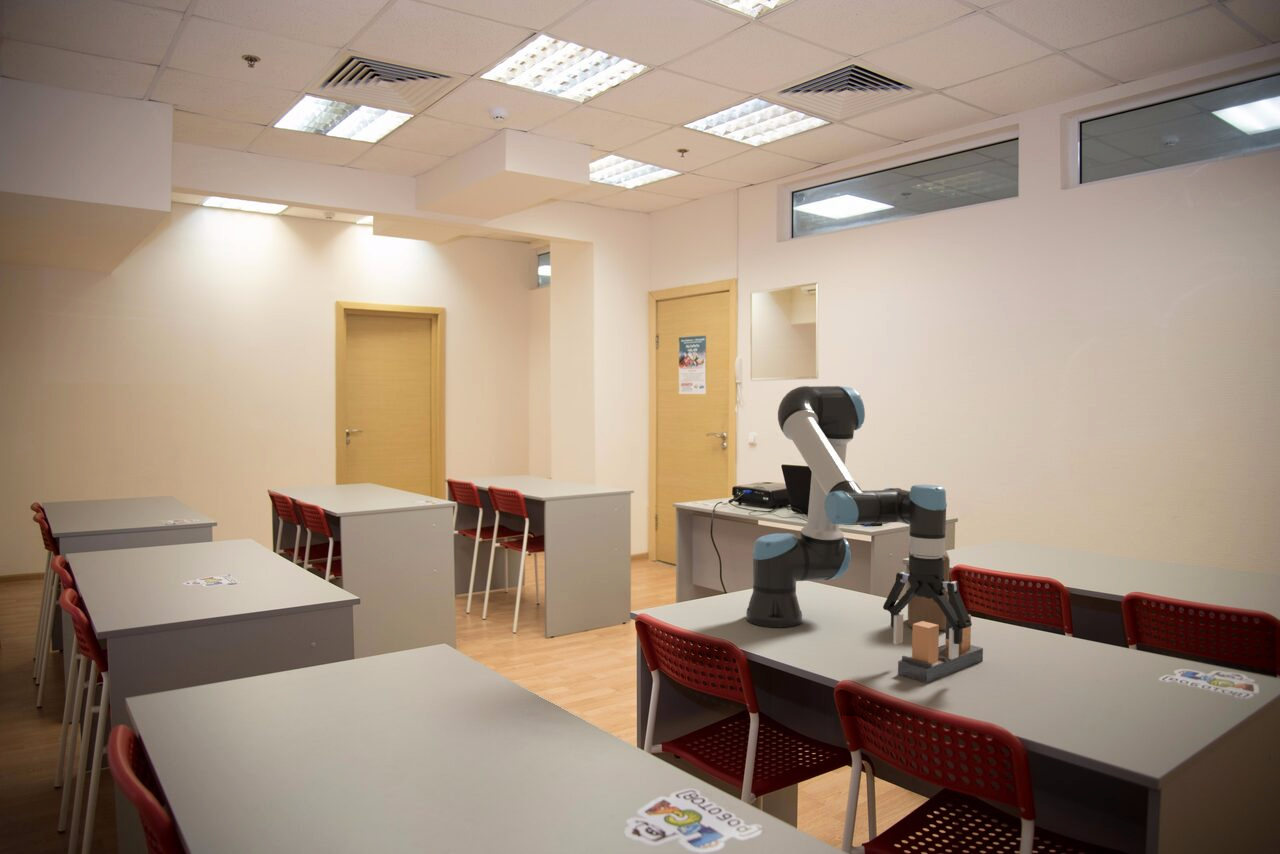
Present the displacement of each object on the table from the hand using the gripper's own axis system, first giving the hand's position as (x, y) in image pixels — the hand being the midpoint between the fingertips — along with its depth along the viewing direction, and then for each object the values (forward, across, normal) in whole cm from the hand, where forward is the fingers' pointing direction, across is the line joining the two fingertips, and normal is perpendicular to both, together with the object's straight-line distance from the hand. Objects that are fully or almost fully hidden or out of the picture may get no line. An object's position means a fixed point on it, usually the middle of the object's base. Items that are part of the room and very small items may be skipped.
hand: (925, 650), depth 182 cm
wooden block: (+5, +21, -36) cm, 42 cm away
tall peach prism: (+2, 0, 0) cm, 2 cm away
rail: (+5, 0, -7) cm, 9 cm away
